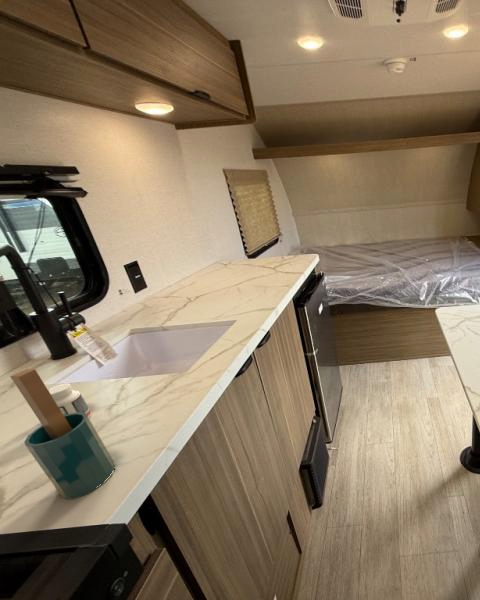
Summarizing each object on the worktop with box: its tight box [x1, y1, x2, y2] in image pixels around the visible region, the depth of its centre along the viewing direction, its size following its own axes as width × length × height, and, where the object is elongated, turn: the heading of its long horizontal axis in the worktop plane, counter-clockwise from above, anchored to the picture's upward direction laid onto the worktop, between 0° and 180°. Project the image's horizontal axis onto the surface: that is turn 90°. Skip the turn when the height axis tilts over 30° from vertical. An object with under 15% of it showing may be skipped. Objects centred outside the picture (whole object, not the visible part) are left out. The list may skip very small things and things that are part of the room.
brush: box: [10, 368, 72, 440], centre depth 53 cm, size 4×4×22 cm
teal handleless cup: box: [24, 412, 116, 500], centre depth 55 cm, size 7×7×12 cm
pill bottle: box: [48, 382, 92, 419], centre depth 71 cm, size 5×5×9 cm
